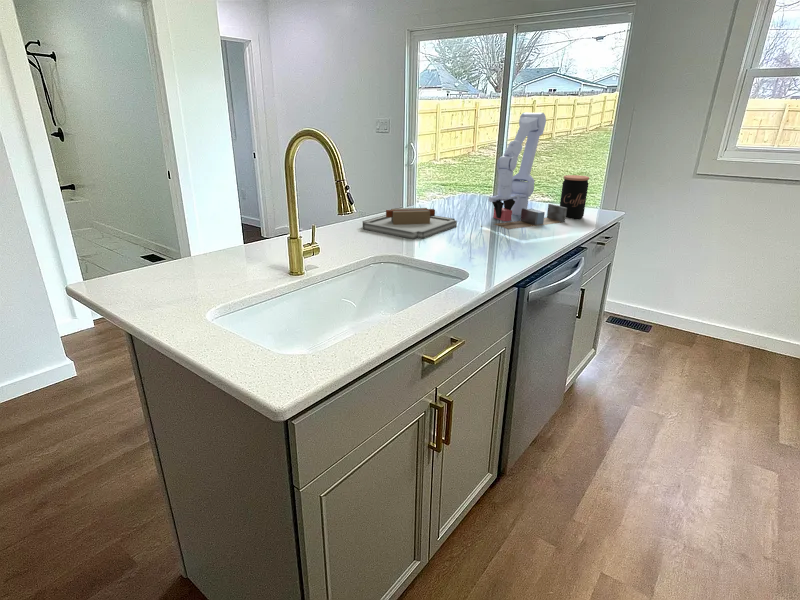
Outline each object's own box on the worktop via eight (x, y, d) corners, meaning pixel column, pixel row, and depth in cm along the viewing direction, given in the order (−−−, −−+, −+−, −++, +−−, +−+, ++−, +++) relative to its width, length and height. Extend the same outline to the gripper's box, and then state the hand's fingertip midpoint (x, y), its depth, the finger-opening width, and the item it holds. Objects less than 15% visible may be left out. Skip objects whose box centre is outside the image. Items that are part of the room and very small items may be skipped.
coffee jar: (558, 219, 207) (563, 177, 200) (558, 214, 216) (563, 174, 209) (583, 220, 204) (590, 178, 197) (582, 215, 213) (588, 175, 206)
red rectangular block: (493, 219, 205) (494, 207, 203) (499, 218, 206) (500, 207, 205) (504, 222, 198) (505, 211, 196) (511, 222, 200) (512, 210, 198)
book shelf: (493, 226, 194) (494, 209, 191) (548, 219, 206) (550, 203, 203) (508, 231, 186) (509, 214, 183) (565, 224, 198) (567, 207, 195)
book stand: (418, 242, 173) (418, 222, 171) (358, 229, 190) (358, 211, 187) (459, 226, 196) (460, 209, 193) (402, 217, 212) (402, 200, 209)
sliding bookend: (520, 220, 199) (521, 208, 197) (522, 220, 199) (523, 208, 197) (534, 225, 191) (536, 212, 189) (536, 224, 191) (538, 212, 189)
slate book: (523, 220, 199) (525, 209, 197) (530, 220, 200) (531, 208, 198) (536, 224, 192) (538, 212, 190) (543, 224, 194) (544, 212, 192)
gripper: (496, 188, 190) (494, 220, 196) (524, 185, 196) (521, 217, 201) (486, 185, 196) (484, 217, 201) (514, 183, 202) (511, 214, 207)
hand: (502, 217), depth 202 cm, fingers closed on red rectangular block, 3 cm apart
